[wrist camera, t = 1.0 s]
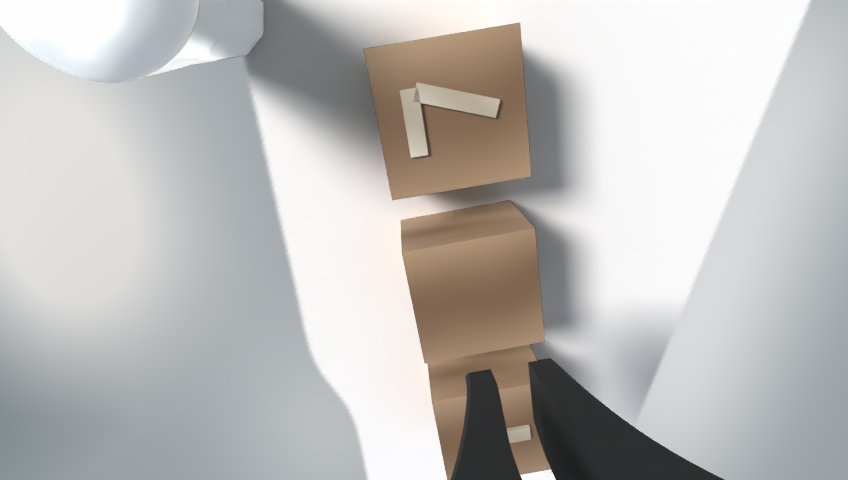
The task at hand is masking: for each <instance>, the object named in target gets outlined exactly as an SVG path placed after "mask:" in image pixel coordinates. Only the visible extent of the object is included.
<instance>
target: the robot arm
mask: <svg viewBox="0 0 848 480" xmlns="http://www.w3.org/2000/svg"><path fill="white" fill-rule="evenodd" d="M528 368H529V378H530V388H531V398H532V409H533V419H534V423H535V426H536V429H537V433H538V436H539V439H540V442H541V445H542V448H543V451H544V453H545V456H546V459H547V461H548V463H549V465H550V468H551V470H552V472H553V474H554V476H555V479H556V480H724V479H722V478H720V477H718V476H716V475H714V474H712V473H710V472H708V471H706V470H704V469H702V468H700V467H699V466H697V465H695V464H693V463H691V462H689V461H687V460H686V459H684V458H682V457H680V456H678V455H677V454H675V453H673V452H672V451H670V450H668V449H667V448H665V447H664V446H662V445H660V444H659V443H657V442H655V441H654V440H652V439H651V438H649V437H648V436H646V435H644V434H643V433H642V432H640V431H639V430H637V429H636V428H635V427H633V426H632V425H630V424H629V423H628V422H626V421H625V420H623V419H622V418H621V417H619V416H618V415H617V414H615V413H614V412H613V411H611V410H610V409H609V408H608V407H606V406H605V405H604V404H603V403H601V402H600V401H599V400H598V399H596V398H595V397H594V396H593V395H591V394H590V393H589V392H588V391H587V390H586V389H584V388H583V387H582V386H581V385H580V384H579V383H577V382H576V381H575V380H574V379H573V378H572V377H571V376H570V375H568V374H567V373H566V372H565V371H564V370H563V369H562V368H561V367H560V366H559V365H558V364H557V363H555V362H554V361H553V360H552V359H550V358H549V359H543V360H538V361H532V362H528ZM465 379H466V385H467V400H466V411H465V418H464V426H463V432H462V437H461V441H460V446H459V450H458V455H457V459H456V463H455V466H454V470H453V473H452V477H451V480H522V479H521V476H520V473H519V470H518V468H517V465H516V462H515V459H514V456H513V453H512V450H511V446H510V442H509V438H508V433H507V428H506V423H505V418H504V414H503V409H502V404H501V399H500V394H499V389H498V385H497V382H496V380H495V378H494V375H493V373H492V371H491V369H487V370H481V371H475V372H470V373H468V374H467V375H466V376H465Z"/></svg>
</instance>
